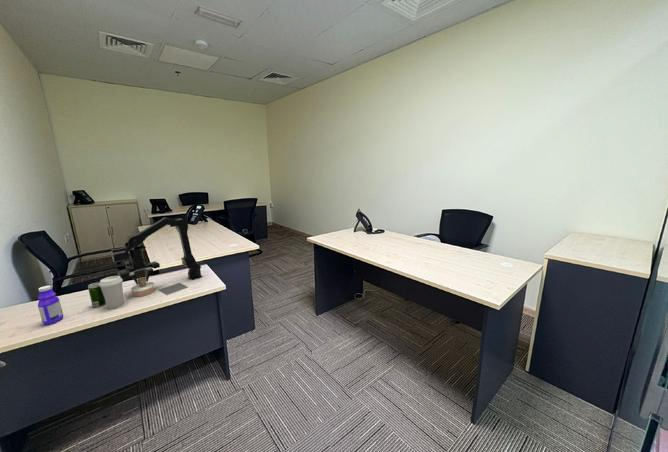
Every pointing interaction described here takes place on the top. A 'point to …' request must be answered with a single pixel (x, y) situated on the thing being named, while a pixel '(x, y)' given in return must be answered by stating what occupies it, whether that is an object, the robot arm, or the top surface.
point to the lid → (142, 285)
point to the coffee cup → (112, 291)
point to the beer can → (96, 295)
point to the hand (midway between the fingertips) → (142, 283)
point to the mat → (172, 288)
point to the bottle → (49, 305)
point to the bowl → (143, 292)
